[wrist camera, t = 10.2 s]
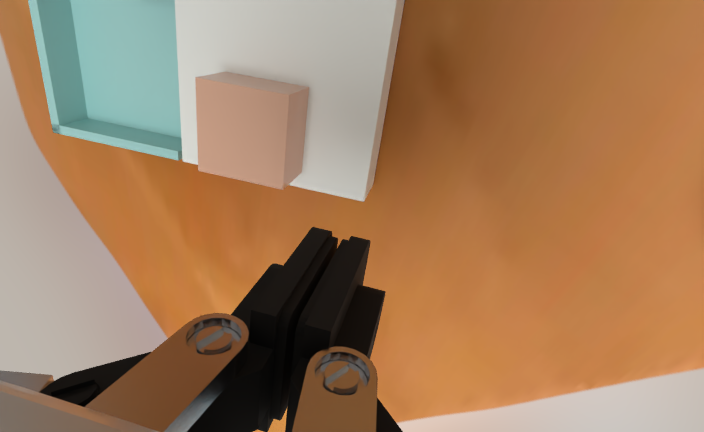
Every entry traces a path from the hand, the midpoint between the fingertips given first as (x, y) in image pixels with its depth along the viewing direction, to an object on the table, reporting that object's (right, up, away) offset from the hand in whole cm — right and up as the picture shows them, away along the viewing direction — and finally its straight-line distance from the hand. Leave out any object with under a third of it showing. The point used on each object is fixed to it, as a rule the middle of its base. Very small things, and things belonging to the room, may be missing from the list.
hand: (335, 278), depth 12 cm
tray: (-13, +15, +15) cm, 25 cm away
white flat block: (-3, +12, +13) cm, 18 cm away
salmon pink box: (-5, +7, +12) cm, 15 cm away
